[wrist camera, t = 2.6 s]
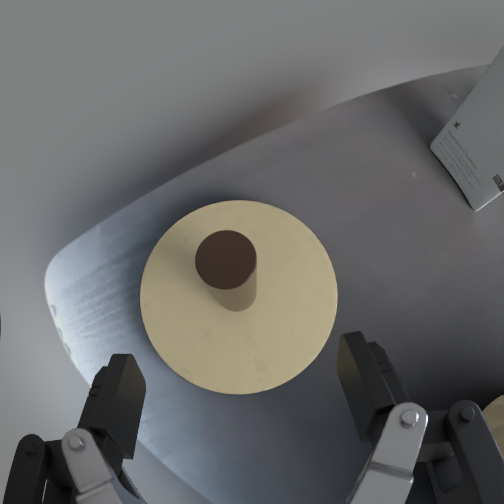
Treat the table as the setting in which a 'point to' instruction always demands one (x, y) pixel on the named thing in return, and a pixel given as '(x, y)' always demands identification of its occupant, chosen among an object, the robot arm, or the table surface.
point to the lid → (238, 297)
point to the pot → (496, 420)
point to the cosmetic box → (477, 139)
